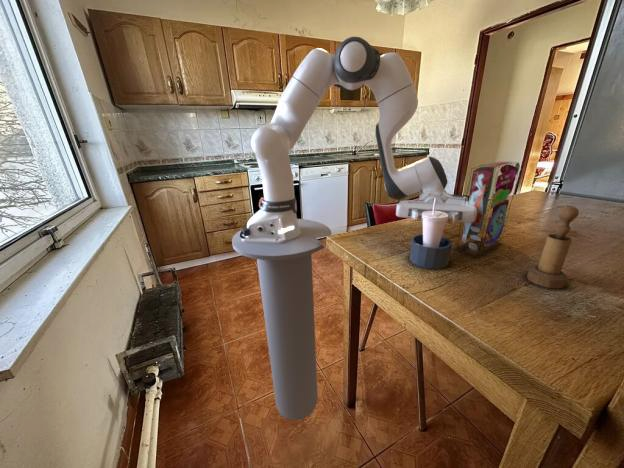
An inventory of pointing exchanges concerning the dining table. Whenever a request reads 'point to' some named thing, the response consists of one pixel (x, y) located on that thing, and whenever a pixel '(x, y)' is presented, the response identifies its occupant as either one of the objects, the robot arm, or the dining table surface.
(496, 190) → the box
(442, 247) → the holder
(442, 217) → the smoothie
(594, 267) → the dining table surface
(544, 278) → the mortar and pestle
